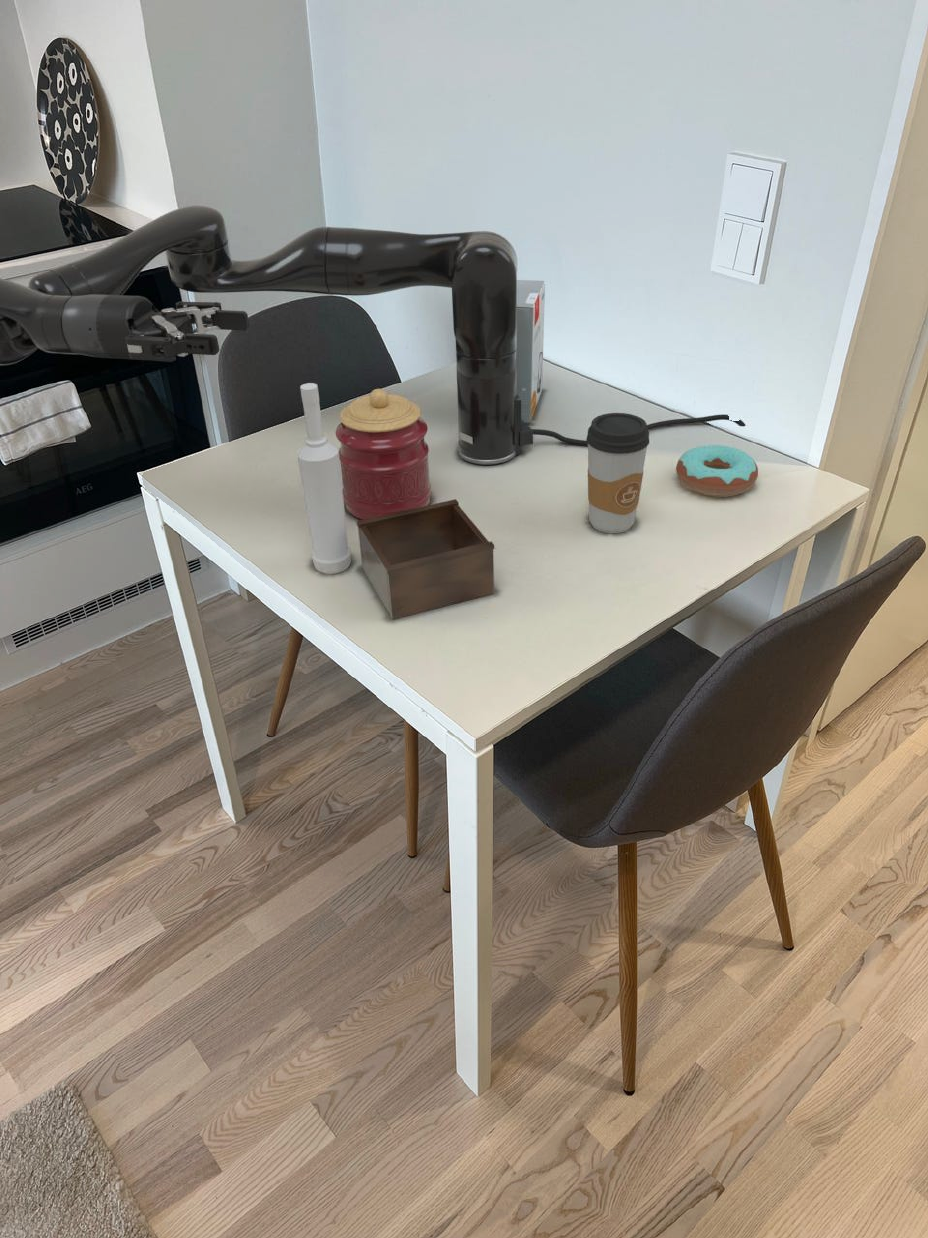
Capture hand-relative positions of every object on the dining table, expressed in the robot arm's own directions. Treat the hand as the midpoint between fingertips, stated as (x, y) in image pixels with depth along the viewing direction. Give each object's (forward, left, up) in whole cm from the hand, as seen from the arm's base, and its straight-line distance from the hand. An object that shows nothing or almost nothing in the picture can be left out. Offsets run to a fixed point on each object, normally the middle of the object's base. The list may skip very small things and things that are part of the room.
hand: (232, 332), depth 112 cm
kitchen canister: (-19, -4, -30) cm, 36 cm away
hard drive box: (-51, -28, -30) cm, 65 cm away
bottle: (-7, +8, -30) cm, 32 cm away
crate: (-17, +18, -30) cm, 38 cm away
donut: (-66, +11, -30) cm, 73 cm away
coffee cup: (-46, +15, -30) cm, 57 cm away
